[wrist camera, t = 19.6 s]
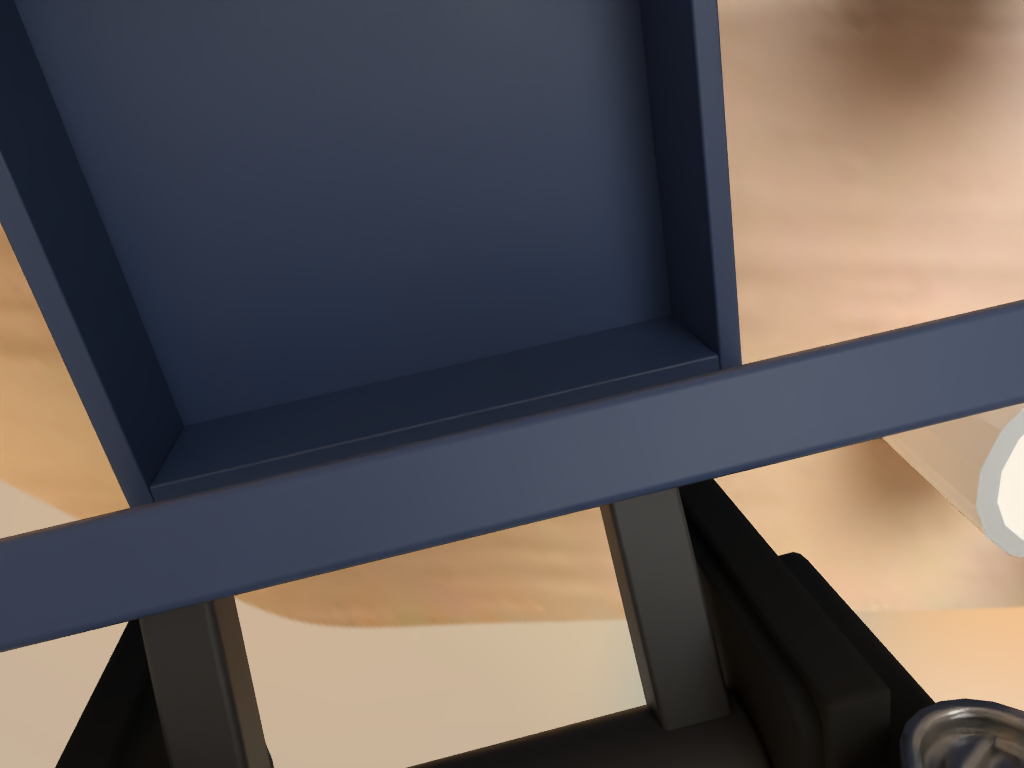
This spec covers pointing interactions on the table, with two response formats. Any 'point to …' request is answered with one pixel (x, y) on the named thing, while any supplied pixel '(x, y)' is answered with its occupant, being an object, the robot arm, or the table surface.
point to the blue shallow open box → (361, 217)
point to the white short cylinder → (975, 469)
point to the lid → (498, 506)
